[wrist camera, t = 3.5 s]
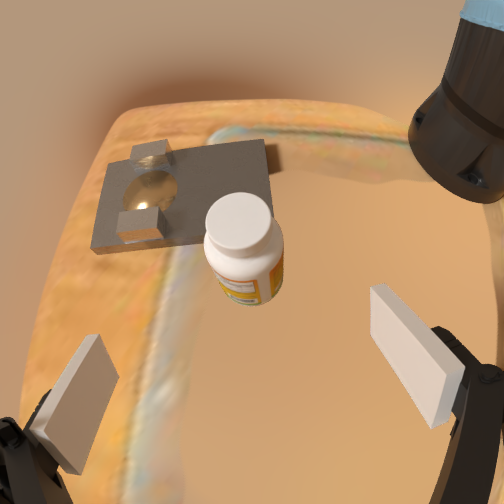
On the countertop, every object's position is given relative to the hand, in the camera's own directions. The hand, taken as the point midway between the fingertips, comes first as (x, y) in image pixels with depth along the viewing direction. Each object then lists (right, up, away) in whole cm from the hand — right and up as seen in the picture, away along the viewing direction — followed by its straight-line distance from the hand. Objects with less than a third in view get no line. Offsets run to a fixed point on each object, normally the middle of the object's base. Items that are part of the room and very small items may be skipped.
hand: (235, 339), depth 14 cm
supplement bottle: (+1, +2, +14) cm, 14 cm away
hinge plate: (-6, +9, +18) cm, 21 cm away
